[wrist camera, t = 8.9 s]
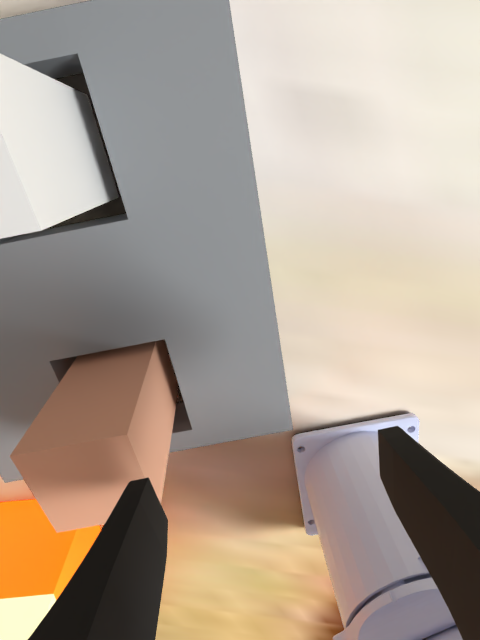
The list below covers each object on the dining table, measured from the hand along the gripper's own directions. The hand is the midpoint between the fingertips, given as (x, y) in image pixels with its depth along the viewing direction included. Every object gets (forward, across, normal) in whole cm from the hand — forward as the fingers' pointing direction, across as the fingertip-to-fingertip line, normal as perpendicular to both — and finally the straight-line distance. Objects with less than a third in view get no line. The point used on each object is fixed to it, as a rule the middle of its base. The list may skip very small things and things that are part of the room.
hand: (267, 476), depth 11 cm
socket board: (+9, +6, -5) cm, 12 cm away
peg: (+9, +6, 0) cm, 11 cm away
